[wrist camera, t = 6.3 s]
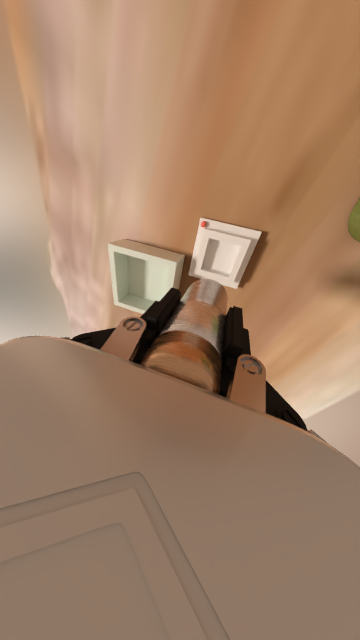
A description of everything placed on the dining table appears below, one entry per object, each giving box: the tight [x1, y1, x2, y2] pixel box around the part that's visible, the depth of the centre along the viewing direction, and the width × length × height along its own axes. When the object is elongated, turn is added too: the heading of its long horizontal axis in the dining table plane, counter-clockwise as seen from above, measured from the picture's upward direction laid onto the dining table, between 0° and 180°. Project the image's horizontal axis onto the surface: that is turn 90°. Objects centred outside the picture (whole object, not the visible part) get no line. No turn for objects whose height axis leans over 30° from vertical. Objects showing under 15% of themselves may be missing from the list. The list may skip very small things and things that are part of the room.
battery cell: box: [139, 279, 228, 395], centre depth 10 cm, size 4×4×10 cm
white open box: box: [108, 239, 185, 314], centre depth 30 cm, size 12×12×5 cm
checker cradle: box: [188, 217, 262, 289], centre depth 25 cm, size 9×9×2 cm
